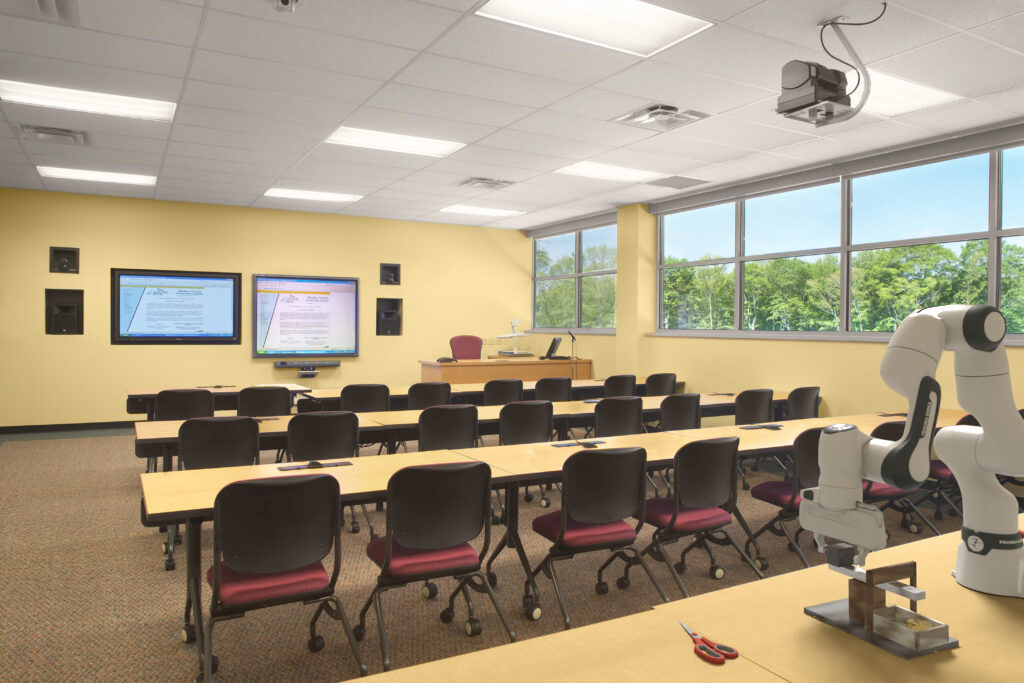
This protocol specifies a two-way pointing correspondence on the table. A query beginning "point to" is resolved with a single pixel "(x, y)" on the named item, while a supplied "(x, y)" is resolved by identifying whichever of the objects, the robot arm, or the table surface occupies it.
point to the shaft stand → (884, 615)
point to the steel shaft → (843, 561)
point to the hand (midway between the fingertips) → (840, 559)
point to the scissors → (710, 648)
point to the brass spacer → (918, 624)
